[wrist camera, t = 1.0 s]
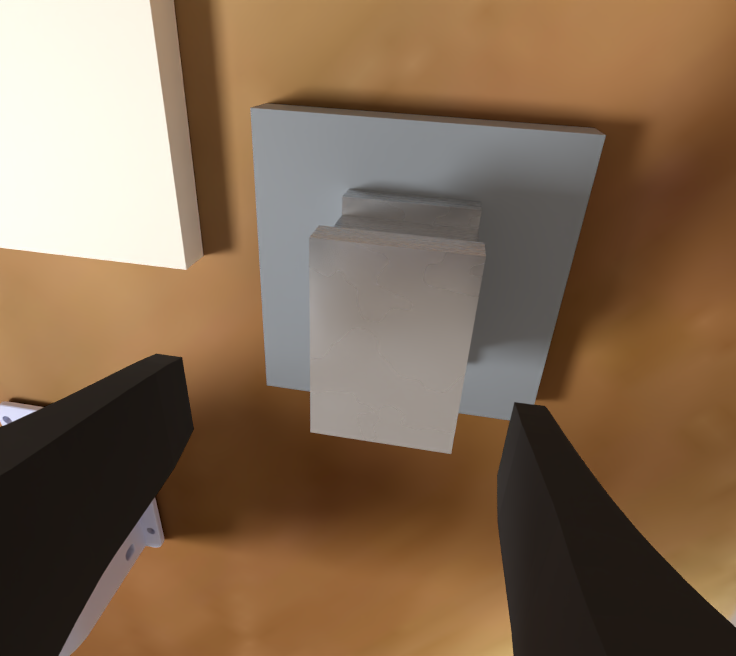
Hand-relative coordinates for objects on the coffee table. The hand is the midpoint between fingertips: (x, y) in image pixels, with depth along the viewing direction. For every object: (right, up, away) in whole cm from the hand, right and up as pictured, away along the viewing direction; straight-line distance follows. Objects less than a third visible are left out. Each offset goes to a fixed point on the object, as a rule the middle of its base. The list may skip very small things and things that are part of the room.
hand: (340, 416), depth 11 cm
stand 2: (+2, +4, +9) cm, 10 cm away
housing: (+2, +4, +7) cm, 8 cm away
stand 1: (-11, +10, +8) cm, 17 cm away
